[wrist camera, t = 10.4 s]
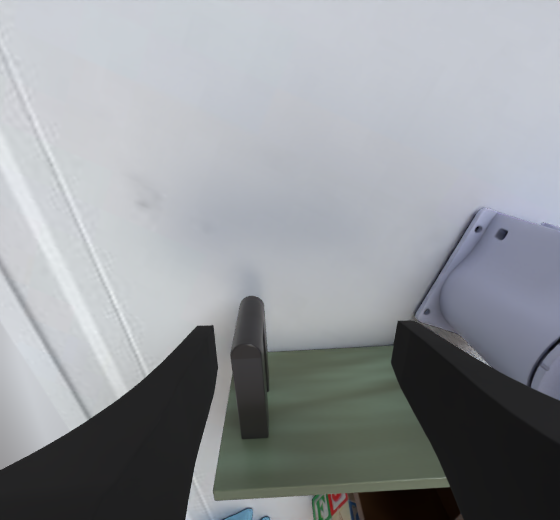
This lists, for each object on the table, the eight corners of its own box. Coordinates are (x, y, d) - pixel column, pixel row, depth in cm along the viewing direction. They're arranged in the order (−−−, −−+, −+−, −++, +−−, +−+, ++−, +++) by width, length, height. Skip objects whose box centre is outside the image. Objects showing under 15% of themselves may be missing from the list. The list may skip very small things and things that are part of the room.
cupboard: (345, 459, 30) (381, 617, 20) (416, 348, 25) (512, 485, 15) (430, 478, 31) (503, 633, 21) (513, 377, 26) (659, 519, 16)
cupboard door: (226, 279, 22) (190, 388, 12) (422, 269, 22) (541, 368, 12) (236, 361, 24) (214, 501, 15) (410, 351, 25) (498, 485, 15)
